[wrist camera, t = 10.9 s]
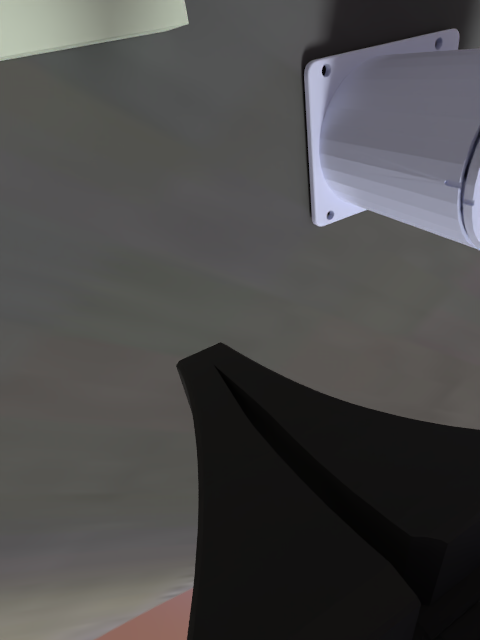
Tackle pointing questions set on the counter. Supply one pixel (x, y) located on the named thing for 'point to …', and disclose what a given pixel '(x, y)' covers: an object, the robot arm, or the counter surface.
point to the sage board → (81, 23)
